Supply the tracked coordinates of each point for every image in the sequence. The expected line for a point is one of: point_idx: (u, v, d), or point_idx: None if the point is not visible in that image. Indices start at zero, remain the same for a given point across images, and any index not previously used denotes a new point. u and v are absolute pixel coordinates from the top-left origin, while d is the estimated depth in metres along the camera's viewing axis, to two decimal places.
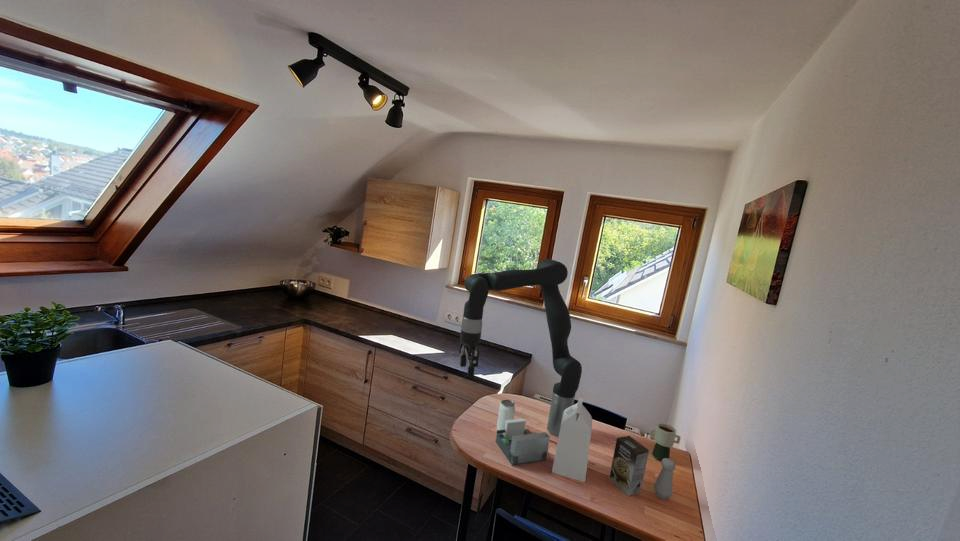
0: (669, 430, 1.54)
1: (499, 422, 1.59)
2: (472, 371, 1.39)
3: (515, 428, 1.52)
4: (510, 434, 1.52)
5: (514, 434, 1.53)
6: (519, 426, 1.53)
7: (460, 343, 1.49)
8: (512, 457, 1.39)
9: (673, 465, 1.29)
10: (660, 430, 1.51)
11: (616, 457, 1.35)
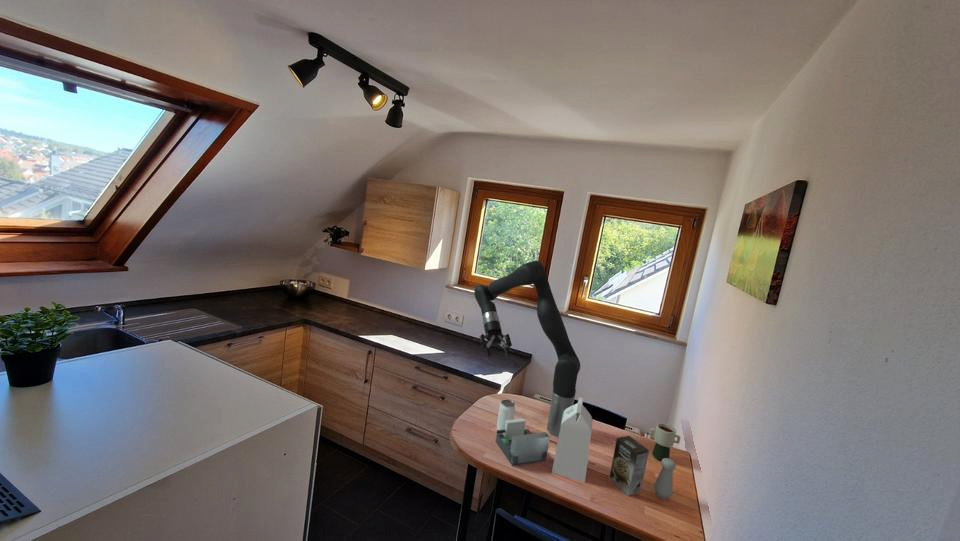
0: (669, 430, 1.54)
1: (499, 422, 1.59)
2: (486, 352, 1.69)
3: (515, 428, 1.52)
4: (510, 434, 1.52)
5: (514, 434, 1.53)
6: (519, 426, 1.53)
7: None
8: (512, 457, 1.39)
9: (673, 465, 1.29)
10: (660, 430, 1.51)
11: (616, 457, 1.35)
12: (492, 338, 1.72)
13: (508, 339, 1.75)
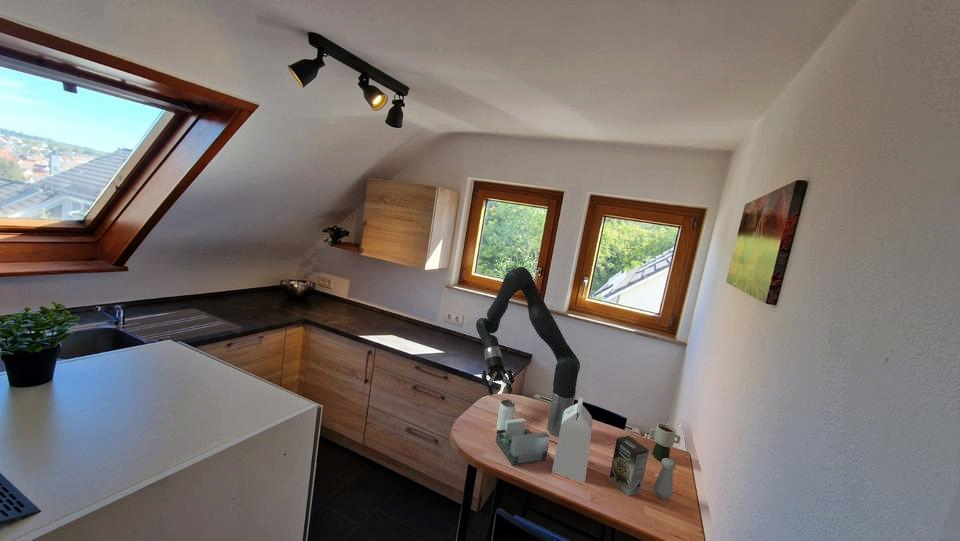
0: (669, 430, 1.54)
1: (499, 422, 1.59)
2: (488, 389, 1.66)
3: (515, 428, 1.52)
4: (510, 434, 1.52)
5: (514, 434, 1.53)
6: (519, 426, 1.53)
7: None
8: (512, 457, 1.39)
9: (673, 465, 1.29)
10: (660, 430, 1.51)
11: (616, 457, 1.35)
12: (494, 375, 1.69)
13: (510, 375, 1.72)
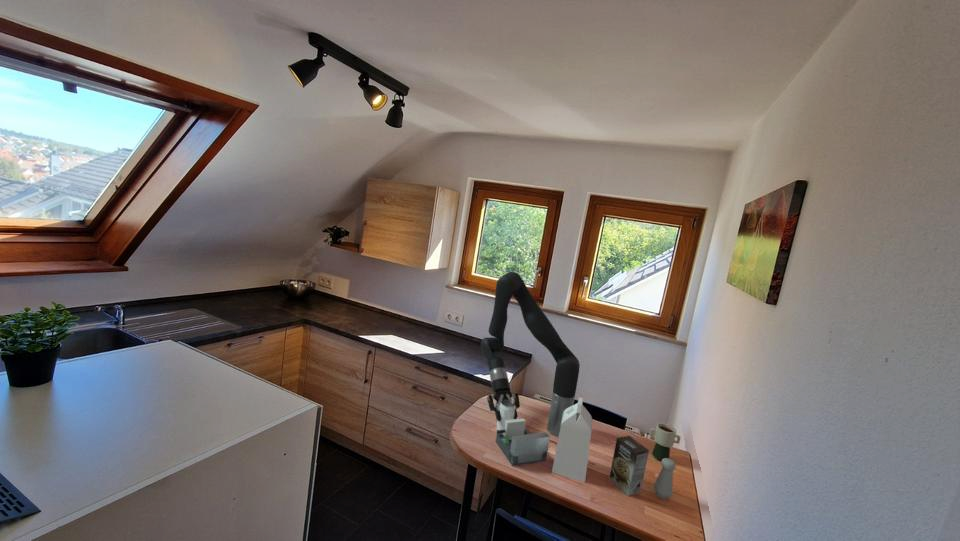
0: (669, 430, 1.54)
1: (499, 422, 1.59)
2: (496, 415, 1.59)
3: (515, 428, 1.52)
4: (510, 434, 1.52)
5: (514, 434, 1.53)
6: (519, 426, 1.53)
7: None
8: (512, 457, 1.39)
9: (673, 465, 1.29)
10: (660, 430, 1.51)
11: (616, 457, 1.35)
12: (501, 398, 1.62)
13: (517, 399, 1.65)
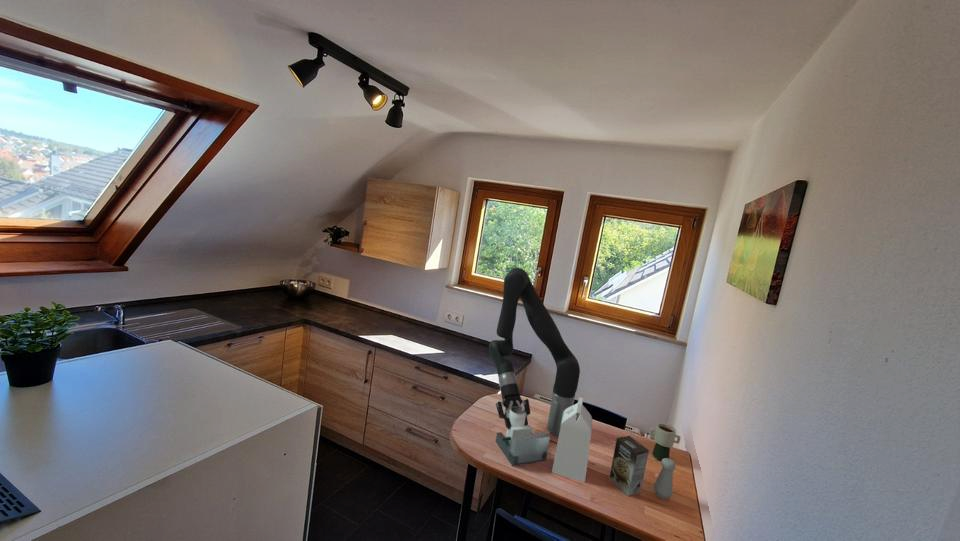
0: (669, 430, 1.54)
1: (509, 430, 1.51)
2: (506, 423, 1.50)
3: None
4: None
5: None
6: (525, 433, 1.49)
7: None
8: (512, 457, 1.39)
9: (673, 465, 1.29)
10: (660, 430, 1.51)
11: (616, 457, 1.35)
12: (510, 405, 1.54)
13: (527, 406, 1.56)
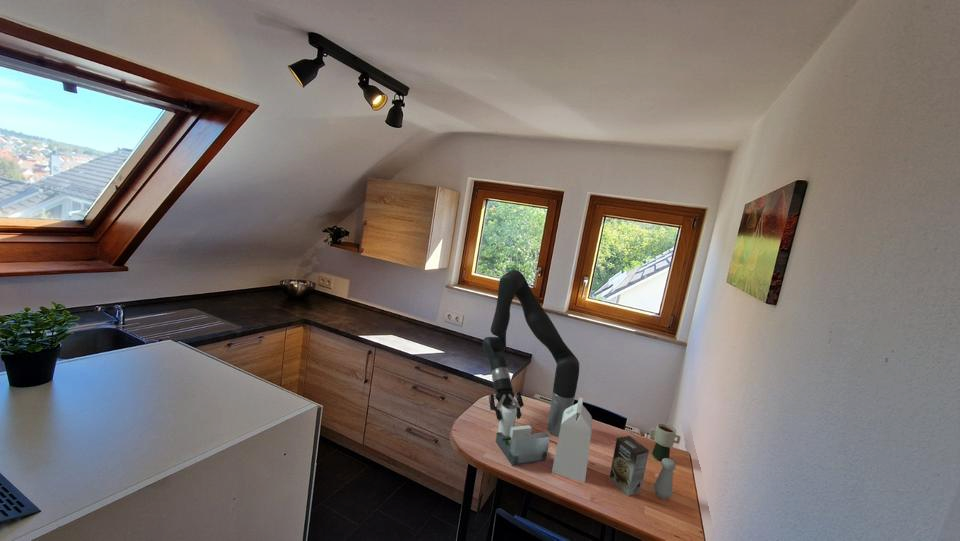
0: (669, 430, 1.54)
1: (501, 424, 1.58)
2: (496, 414, 1.57)
3: None
4: None
5: None
6: (525, 433, 1.48)
7: None
8: (512, 457, 1.39)
9: (673, 465, 1.29)
10: (660, 430, 1.51)
11: (616, 457, 1.35)
12: (502, 398, 1.60)
13: (519, 398, 1.63)
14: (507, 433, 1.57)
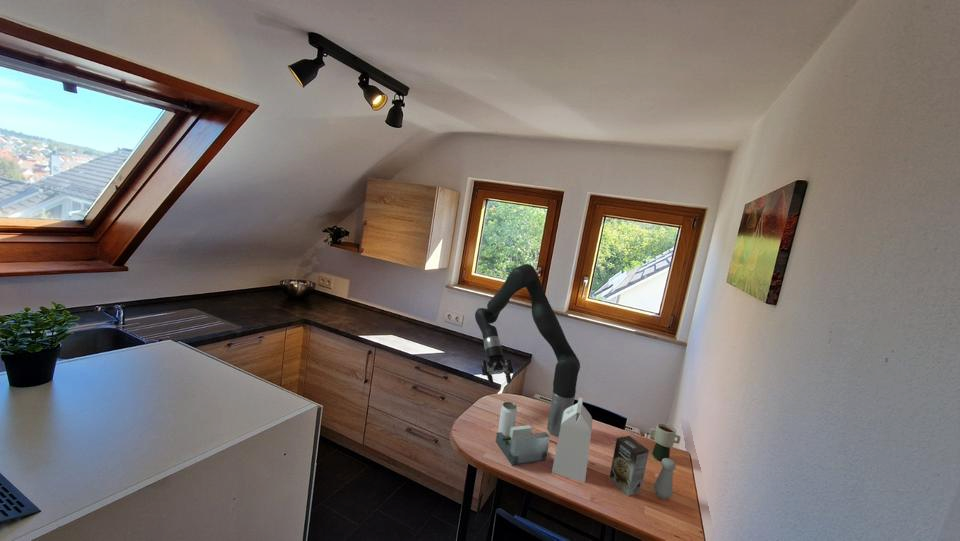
0: (669, 430, 1.54)
1: (501, 424, 1.58)
2: (488, 379, 1.67)
3: None
4: None
5: None
6: (525, 433, 1.48)
7: None
8: (512, 457, 1.39)
9: (673, 465, 1.29)
10: (660, 430, 1.51)
11: (616, 457, 1.35)
12: (494, 364, 1.70)
13: (510, 365, 1.74)
14: (507, 433, 1.57)
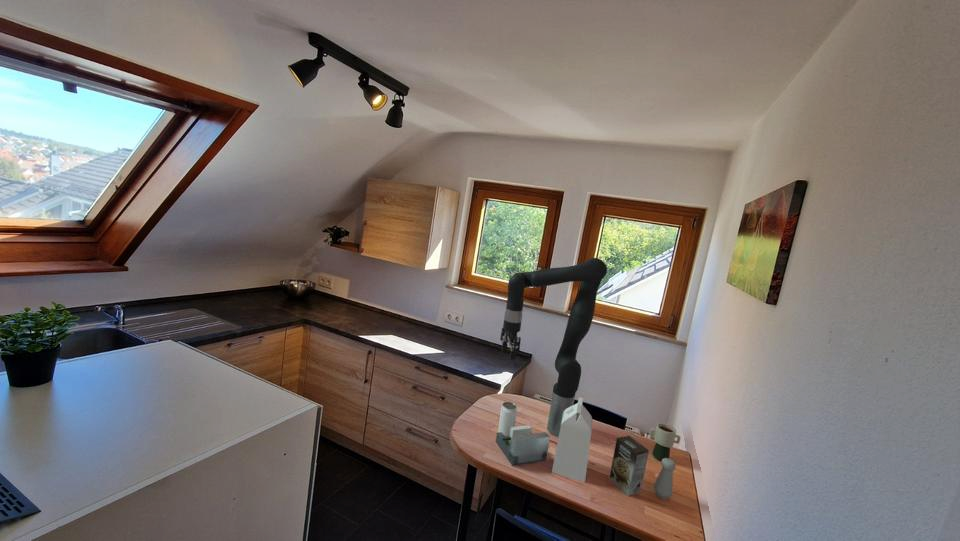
0: (669, 430, 1.54)
1: (501, 425, 1.58)
2: (514, 355, 1.64)
3: None
4: None
5: None
6: (525, 433, 1.48)
7: (501, 332, 1.73)
8: (512, 457, 1.39)
9: (673, 465, 1.29)
10: (660, 430, 1.51)
11: (616, 457, 1.35)
12: None
13: None
14: (507, 433, 1.57)
